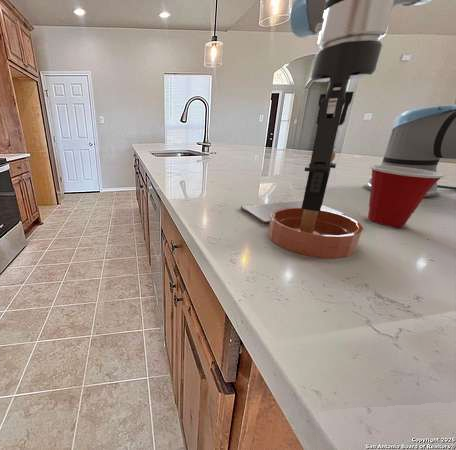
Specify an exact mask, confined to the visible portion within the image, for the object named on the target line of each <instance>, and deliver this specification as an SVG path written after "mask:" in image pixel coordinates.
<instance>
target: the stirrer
mask: <svg viewBox="0 0 456 450" xmlns="http://www.w3.org/2000/svg"><path fill="white" fill-rule="evenodd" d="M336 156H337V155H336V149H335V150H333V154H332V158H331V162H332V163H333V161H334V160H335V158H336ZM331 162H330V163H331ZM317 215H318V211H312V210H306V209H304V211H303V216H302V220H301V225H300V229H295V230H299V231H304V232H308V233H314V234H319V233H317V232H315V231H314V227H315V223H316V219H317Z"/></svg>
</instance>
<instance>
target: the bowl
mask: <svg viewBox="0 0 456 450" xmlns="http://www.w3.org/2000/svg"><path fill="white" fill-rule="evenodd" d="M303 211H304V209H302V208H283V209H279V210H276V211H274V212H273V213H272V214H271V219H270V224H268V225H269V227H268V232H267V236H268V237H269V239H270V240H271V241H272V242H273V243H274V244H276V245H277V246H279V247H281V248H283V249H285V250H287V251H290V252H294V253H297V254H299V255H302V256H303V255H304V256H309V257H314V258H321V259H338V258H339V259H340V258H346V257H349V256H352V255H354V254H355V253H356V251H357V249H358V245H359V242H360V239H361V237H362V234H363V231H364V227H363V225H362V224H361V223H360V222H358V221H357V220H355V219H354V218H352V217H349V216H347V215H345V216H344V215H342V214H338V213H334V212H331V211H326V210H320V212H319V211H318V215H317V219H316V223H315V227H314V231H315V232H317V233H319V234H314V233H308V232H304V231H299V230H295V229H300V225H301V220H302V216H303Z"/></svg>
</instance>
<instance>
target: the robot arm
mask: <svg viewBox="0 0 456 450" xmlns="http://www.w3.org/2000/svg"><path fill="white" fill-rule="evenodd" d="M430 2H433V0H294V1H293V2H292V4H291V7H290V10H289V14H288V16H289V17H288V19H289V25H290V26H289V27H290V30H291V32H292V34H293V35H294V36H296V37H297V38H306V37H309V36H316V35H317V34H319V35H318V40H317V47H318V48H319V49H320V50H318V51H317V53H315V55H314V59H313V65H312V70H311V76H310V79H311V81H313V82H314V83H328V85H327V88H326V93H321V94H320V95H319V99H318V107H319V108H318V113H317V116H316V117H317V118H316V125H317V126H316V132H315V138H314V143H313V149H312V151H311V156H310V157H311V158H310V162H309V164H308V166H307V167H306V166H305V167H304V172H308V175H307V179H306V186H305V189H304V195H303V199H302V201H303V204H302V209H306V210H312V211H319V212H320V209H321V206H322V205H323V202H324V198H325V194H326V190H327V185H328V182H329V177H330V173H331V169H336V166H337V163H334V162H333V161H332V162H331V158H332V154H333V150H335V151H336V146H337V145H336V144H337V140H338V137H339V133H340V128H341V126H343V125H344V123H345V122H346V118H347V114H348V109H349V107H350V106H351V104H352V101H353V98H354V93H355V91H349V87H350V82H351V80H354V79H355V80H356V79H363V78H366V77H370V76H372V75H373V74H374V73H375V72H376V71H377V67H378V65H379V64H378V63H379V59H380V57H381V54H382V53H381V52H382V49H383V43H382V42H381V41H380V40H381V39H382V38H384V37H385V36H386V35H387V32H388V29H389V24H390V21H391V18H392V14H393V9H394V6H398V5H399V6H400V5H402V6H404V7H411V6H420V5H424V4H427V3H430ZM384 152H385V153H384V155H383V158H382V161H381V164H380V165H386V166H398V167H407V168H415V169H422V170H428V171H433V172H437V167H438V164H439V162H440V160H441V159H444V160H445V159H447V160H456V104H446V105H445V104H444V105H439V106H431V107H423V108H416V109H411V110H407V111H404V112H402V113H400V114H399V115H398V116H397V117H396V119H395V121H394V124H393V126H392V128H391V132H390V136H389V139H388V143H387V145H386V149H385V151H384ZM330 162H331V163H330ZM371 180H372V177H371V178H370V179H369V180H368V182H367V184H366V188H367V189H368V190H369V191H371V184H372V182H371ZM438 189H445V190H446V189H447V190H456V186H448V185H441V184H440V185H439V184H438V181H437V182H436V183H435V184H434V185H433V186H432V187H431V189H429V191H428V192H427V194H426V195H425V196H424V198H430V197H434V196H435V195H436V193H437V191H438Z"/></svg>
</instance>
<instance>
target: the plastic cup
mask: <svg viewBox="0 0 456 450" xmlns="http://www.w3.org/2000/svg"><path fill="white" fill-rule="evenodd" d="M370 169H371V178H372V180H371V182H372V184H371V190H370V193H369V202H368V214H367V218H368V220H369V221H370V222H373V223H375V224H379V225H381V226H382V225H383V226H389V227H391V228H394V229H402V228H403V227H404V226H406V224H407V222H408V221H409V219H410V218H411V216H412V215H413V214H414V213H415V211H416V210H417V208H418V207H419V205H420V204H421V203H422V202H423V199H424V198H425V197H424V196H425V195H426V194H427V192H428V191H429V189H431V187H432V186H433V185H434V184H435V183H436V182H437V183H438V181H440V179H442V178H444V177H445V173H441V172H437V171H436V172H433V171H428V170H422V169H415V168H407V167H398V166H386V165H381V164H375V165H371V166H370Z"/></svg>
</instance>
